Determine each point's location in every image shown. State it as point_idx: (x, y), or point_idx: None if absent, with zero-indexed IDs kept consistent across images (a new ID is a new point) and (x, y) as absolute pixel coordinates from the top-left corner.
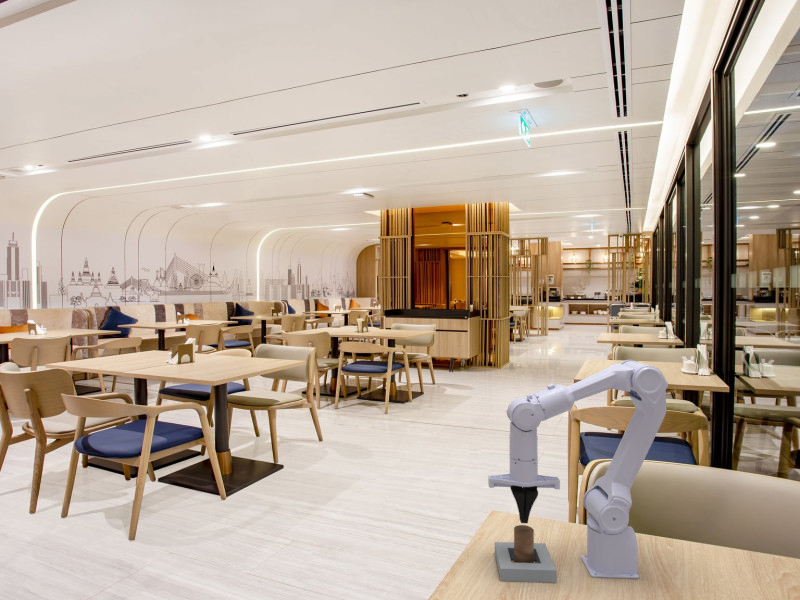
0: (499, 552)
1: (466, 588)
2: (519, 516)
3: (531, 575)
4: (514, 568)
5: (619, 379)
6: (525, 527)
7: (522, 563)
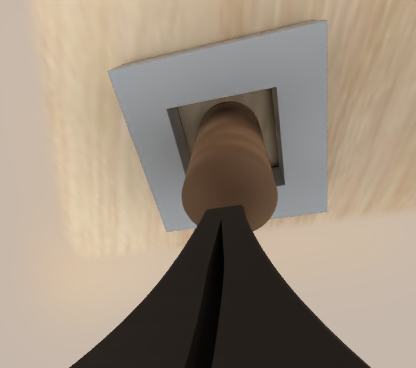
0: (144, 150)
1: (106, 243)
2: (201, 218)
3: None
4: None
5: None
6: (237, 179)
7: None
